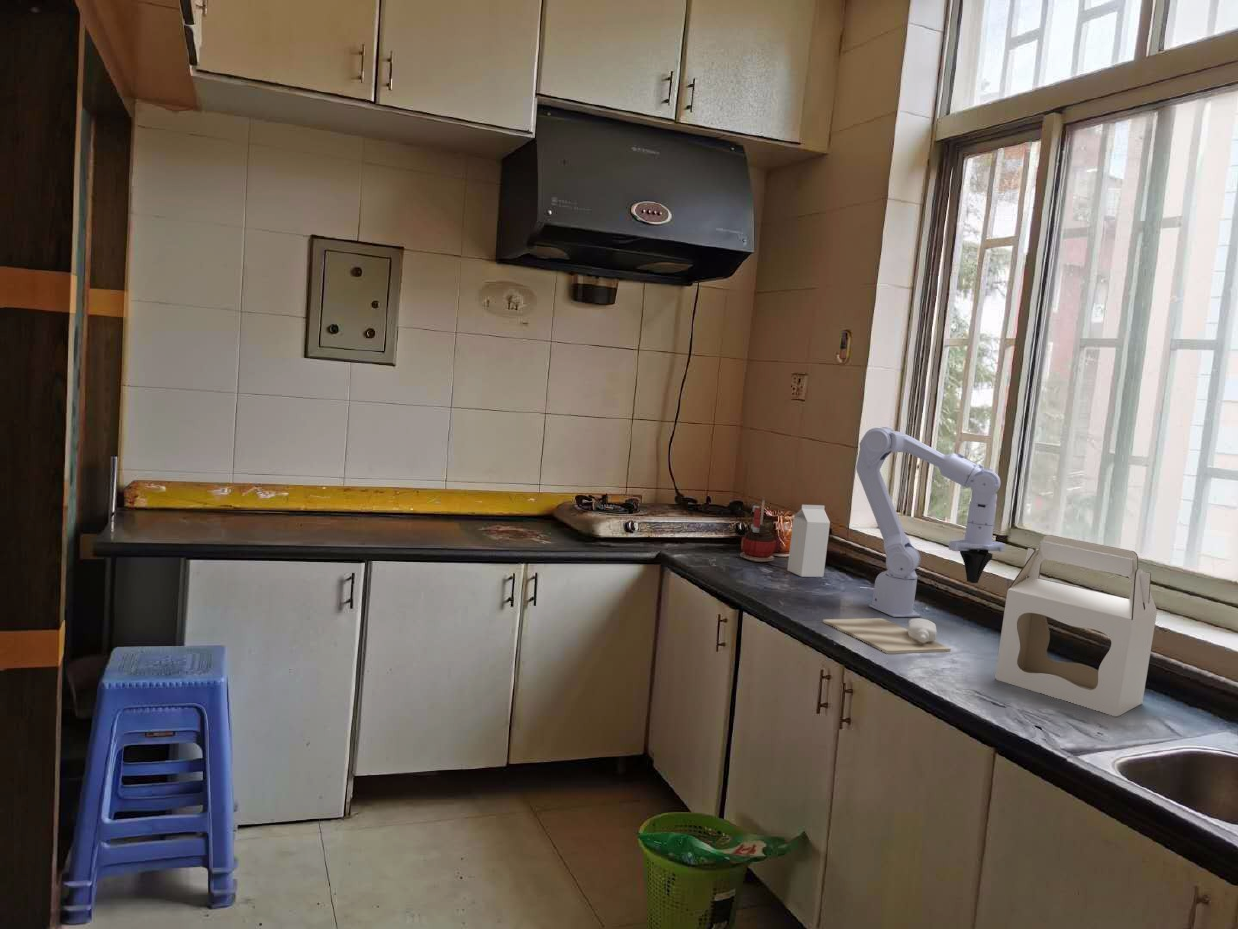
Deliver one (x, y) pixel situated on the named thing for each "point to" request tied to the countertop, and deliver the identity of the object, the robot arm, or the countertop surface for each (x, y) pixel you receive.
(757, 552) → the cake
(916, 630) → the eye dropper bottle
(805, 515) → the milk carton
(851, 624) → the birch board
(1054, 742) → the countertop surface
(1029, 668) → the gable box
